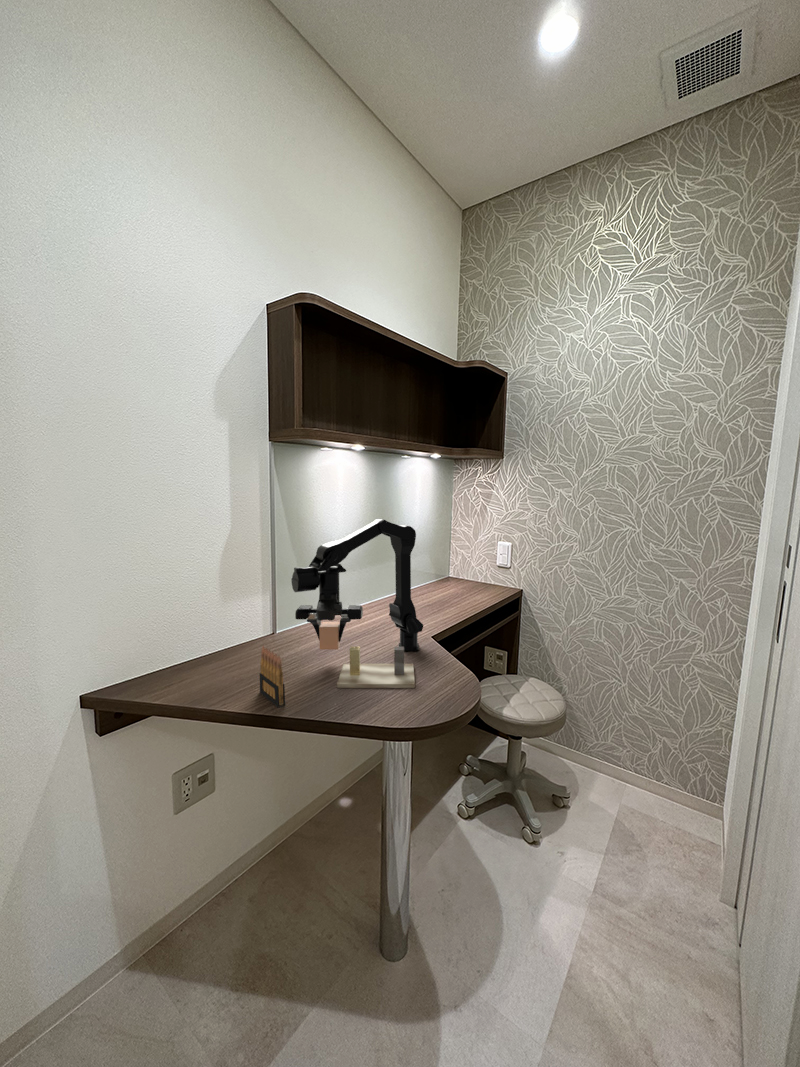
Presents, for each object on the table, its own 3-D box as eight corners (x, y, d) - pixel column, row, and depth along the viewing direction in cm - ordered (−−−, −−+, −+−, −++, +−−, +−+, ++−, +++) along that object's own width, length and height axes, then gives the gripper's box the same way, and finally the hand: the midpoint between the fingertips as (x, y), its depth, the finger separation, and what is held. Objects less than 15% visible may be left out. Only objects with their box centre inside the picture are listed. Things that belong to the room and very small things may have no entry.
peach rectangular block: (322, 643, 135) (322, 621, 135) (340, 643, 135) (340, 621, 135) (319, 649, 130) (319, 626, 129) (337, 649, 130) (337, 626, 129)
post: (350, 671, 125) (350, 646, 125) (360, 671, 125) (360, 646, 125) (349, 675, 123) (349, 649, 122) (359, 675, 123) (359, 649, 122)
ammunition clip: (259, 692, 115) (258, 645, 114) (266, 690, 116) (265, 644, 115) (278, 707, 107) (276, 657, 105) (285, 705, 108) (284, 656, 107)
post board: (343, 667, 131) (343, 639, 130) (413, 667, 131) (413, 639, 130) (337, 687, 117) (336, 657, 116) (414, 687, 117) (414, 657, 116)
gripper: (290, 594, 123) (291, 650, 124) (359, 594, 123) (359, 650, 124) (299, 586, 134) (300, 637, 135) (362, 586, 134) (363, 637, 135)
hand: (330, 641), depth 132 cm, fingers closed on peach rectangular block, 5 cm apart
